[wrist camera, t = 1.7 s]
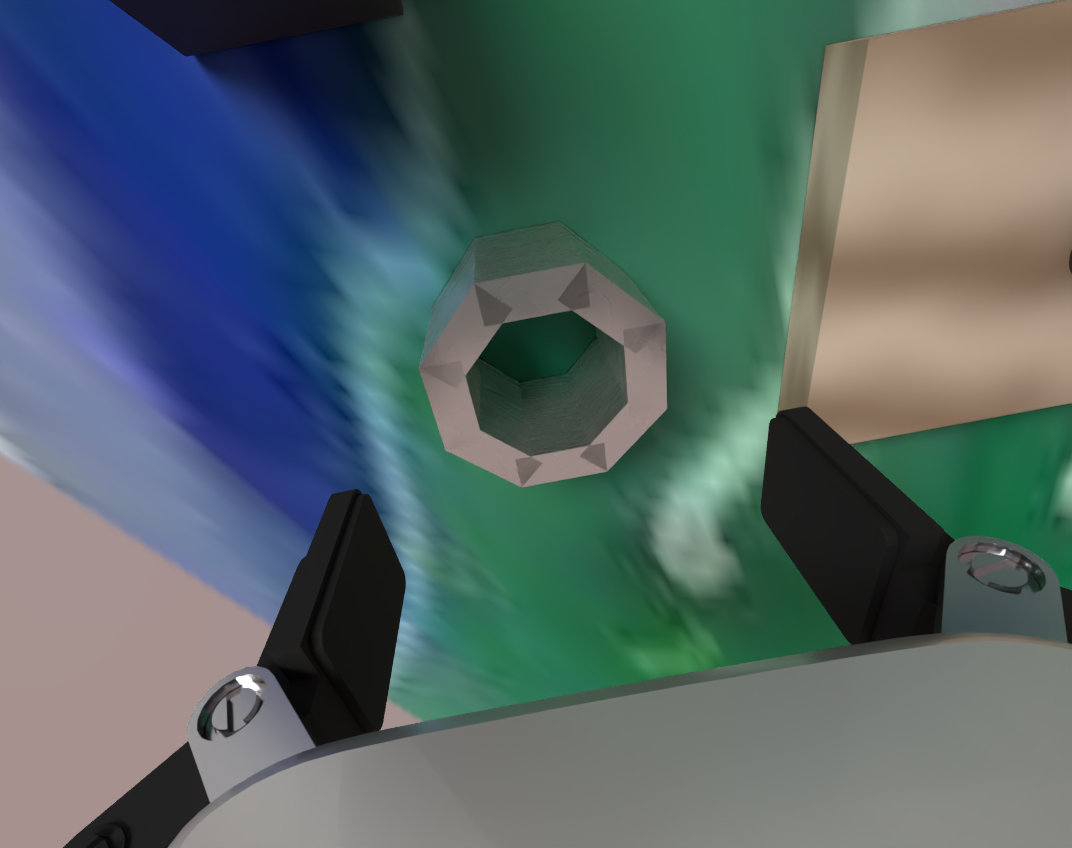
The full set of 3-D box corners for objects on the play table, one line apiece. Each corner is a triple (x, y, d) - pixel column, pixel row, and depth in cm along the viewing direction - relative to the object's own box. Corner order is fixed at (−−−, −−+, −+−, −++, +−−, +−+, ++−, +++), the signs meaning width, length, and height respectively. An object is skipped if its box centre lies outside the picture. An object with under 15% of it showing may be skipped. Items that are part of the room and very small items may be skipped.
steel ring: (416, 248, 17) (395, 298, 13) (619, 209, 17) (664, 247, 13) (465, 418, 21) (461, 498, 17) (630, 387, 21) (667, 460, 17)
